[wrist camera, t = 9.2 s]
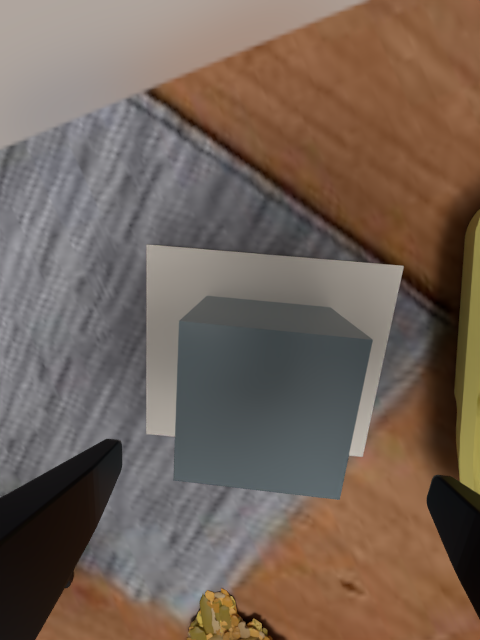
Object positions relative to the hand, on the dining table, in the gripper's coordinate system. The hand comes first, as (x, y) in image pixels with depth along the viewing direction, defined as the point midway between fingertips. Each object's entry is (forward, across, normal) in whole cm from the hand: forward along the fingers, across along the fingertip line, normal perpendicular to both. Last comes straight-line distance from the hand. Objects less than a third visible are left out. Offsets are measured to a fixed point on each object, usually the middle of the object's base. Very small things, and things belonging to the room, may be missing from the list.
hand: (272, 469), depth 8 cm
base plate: (+10, 0, 0) cm, 11 cm away
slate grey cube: (+9, 0, 0) cm, 9 cm away
